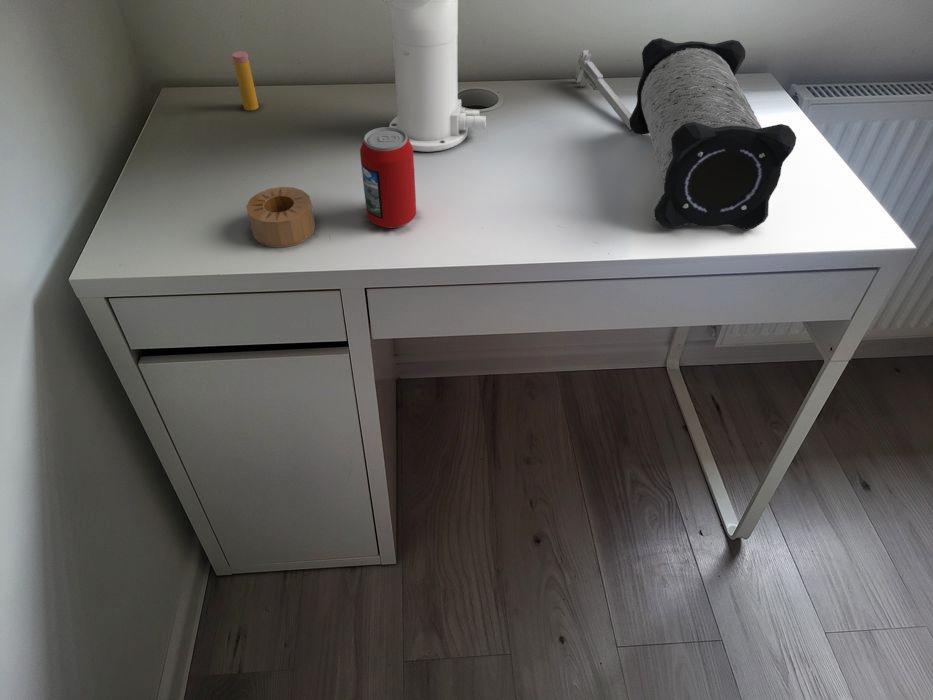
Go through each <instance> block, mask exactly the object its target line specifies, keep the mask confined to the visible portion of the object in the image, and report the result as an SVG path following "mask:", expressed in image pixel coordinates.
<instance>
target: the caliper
mask: <svg viewBox="0 0 933 700" xmlns="http://www.w3.org/2000/svg"><path fill="white" fill-rule="evenodd" d="M591 57H592V54H591V53H589V49H585V50H582V53H581V54H580V55H579V57H578V61H577V63H576V70H575V83H580V84H579V88H584V87H586V86H587V85H588V83H589V85H590V87H592V89H593V91H599V93H600V95H602V97H603V98H604V99H605V101H606V102H607V103H608V105H610V106H611V108H612V109H613V110H614V112H615V113H616V114H617V116H618V117H619V119H621V121H622V122H623V123H624V125H625V126H626V127H627V129H628V130H629V131H633V130H632V129H631V127H630V122H629V119H630V117H631V115H632V113H631V112H630V111H629V109H628V108H627V107H626V105H625V104H624V103H623V101H621V99H620V98H619V97H618V95H617V94H616V93H615V92H614V90H613V89H612V88H611V87H610V86H609V85H608V83H607V81H605V79H604V76H603V74H602V72H600V70H599V69H598V68H597V66H596V65H595V64H594V62H592V61H591Z"/></svg>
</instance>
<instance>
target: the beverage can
mask: <svg viewBox="0 0 933 700" xmlns="http://www.w3.org/2000/svg"><path fill="white" fill-rule="evenodd" d="M359 156H360V166H361V176H362V182H363V184H362V185H363V192H364V200H365V210H366V216H367V219H368V220H369V222H371V223H372V224H374V225H377V226H379V227H382V228H387V229H394V228H400V227H404V226H405V225H407V224H409V223H411V222H412V221H413V220H414V218H415V217H416V215H417V198H416V175H415V161H414V160H415V159H414V150H413V147H412V145H411V143H410V142H409V140H408V139H407V136H406V134H405V132H403V131H402V130H400V129H397V128H392V127H389V126H383V127H377V128H374V129H371V130H369V131H368V132H366V134H365V135H364V136H363V141H362V144H361V146H360V148H359Z"/></svg>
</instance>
